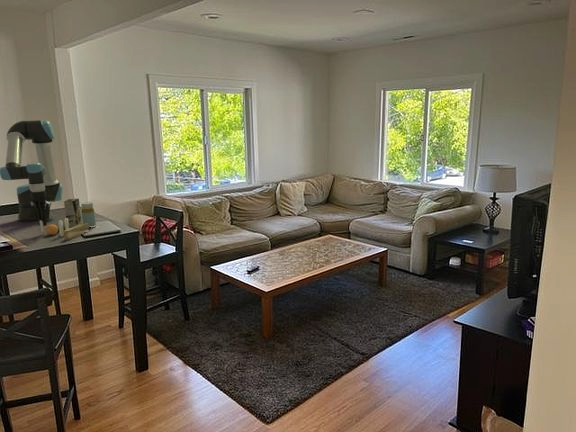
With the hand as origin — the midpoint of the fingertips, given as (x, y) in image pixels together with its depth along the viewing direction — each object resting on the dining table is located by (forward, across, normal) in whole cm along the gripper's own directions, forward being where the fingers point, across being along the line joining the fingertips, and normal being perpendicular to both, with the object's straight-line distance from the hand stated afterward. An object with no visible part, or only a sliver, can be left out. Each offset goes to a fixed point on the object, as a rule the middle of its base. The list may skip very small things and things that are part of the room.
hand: (43, 231), depth 250 cm
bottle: (+2, +17, +18) cm, 25 cm away
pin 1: (+2, +13, -2) cm, 14 cm away
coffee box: (+2, +4, +22) cm, 22 cm away
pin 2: (+2, +13, +2) cm, 14 cm away
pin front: (+1, +10, 0) cm, 10 cm away
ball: (-1, +5, 0) cm, 5 cm away
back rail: (+2, +21, 0) cm, 21 cm away
